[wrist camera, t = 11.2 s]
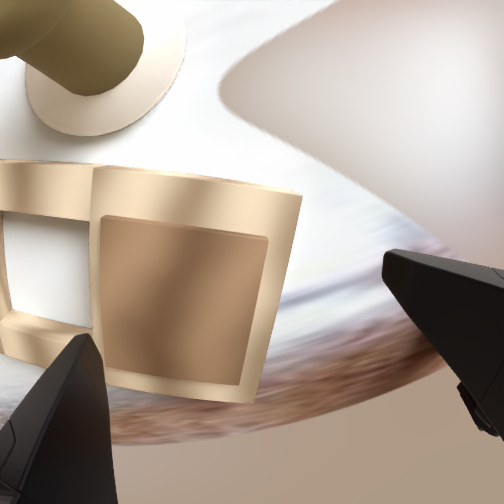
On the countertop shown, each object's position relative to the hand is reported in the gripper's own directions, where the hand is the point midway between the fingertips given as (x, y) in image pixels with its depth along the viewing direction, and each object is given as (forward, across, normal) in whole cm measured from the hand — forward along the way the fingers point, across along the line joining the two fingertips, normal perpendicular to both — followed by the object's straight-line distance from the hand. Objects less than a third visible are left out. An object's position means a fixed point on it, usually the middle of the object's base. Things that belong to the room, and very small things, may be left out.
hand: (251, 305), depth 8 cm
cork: (+13, +4, -10) cm, 17 cm away
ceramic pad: (+14, +4, -10) cm, 18 cm away
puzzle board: (+12, +6, +4) cm, 15 cm away
